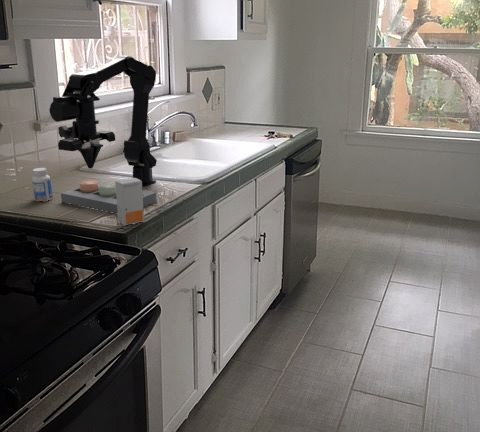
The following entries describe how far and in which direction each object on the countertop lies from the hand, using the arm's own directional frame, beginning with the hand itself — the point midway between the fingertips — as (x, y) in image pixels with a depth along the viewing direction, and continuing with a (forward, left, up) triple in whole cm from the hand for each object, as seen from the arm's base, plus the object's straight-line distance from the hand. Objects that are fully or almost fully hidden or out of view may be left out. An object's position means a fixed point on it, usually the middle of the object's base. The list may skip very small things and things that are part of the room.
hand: (90, 168), depth 164 cm
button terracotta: (0, -1, -8) cm, 8 cm away
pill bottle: (+8, -13, -10) cm, 19 cm away
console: (0, +7, -10) cm, 12 cm away
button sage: (0, +7, -8) cm, 10 cm away
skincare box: (+11, +25, -10) cm, 29 cm away
